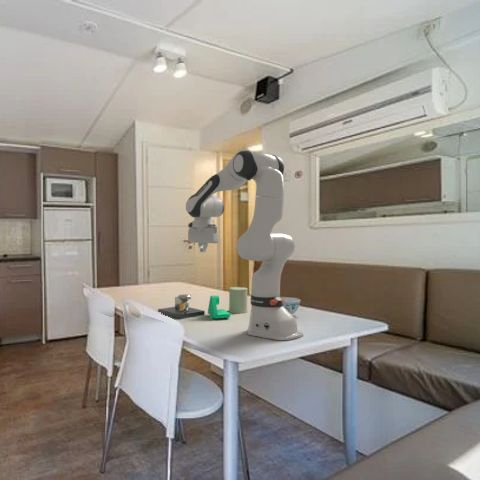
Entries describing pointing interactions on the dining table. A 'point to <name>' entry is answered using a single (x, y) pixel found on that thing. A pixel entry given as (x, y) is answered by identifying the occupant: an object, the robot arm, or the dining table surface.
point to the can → (238, 300)
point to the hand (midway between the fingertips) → (203, 252)
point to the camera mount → (213, 309)
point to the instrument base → (179, 314)
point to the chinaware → (291, 304)
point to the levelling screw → (184, 302)
